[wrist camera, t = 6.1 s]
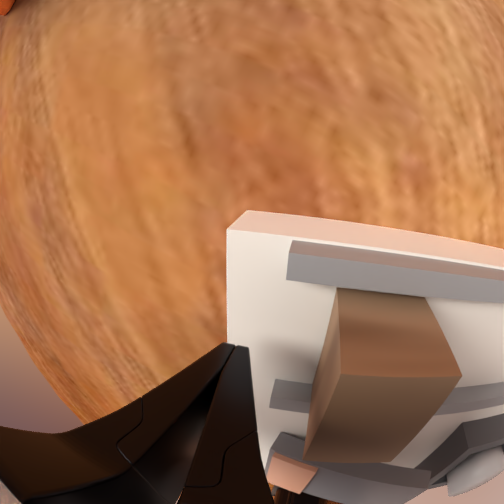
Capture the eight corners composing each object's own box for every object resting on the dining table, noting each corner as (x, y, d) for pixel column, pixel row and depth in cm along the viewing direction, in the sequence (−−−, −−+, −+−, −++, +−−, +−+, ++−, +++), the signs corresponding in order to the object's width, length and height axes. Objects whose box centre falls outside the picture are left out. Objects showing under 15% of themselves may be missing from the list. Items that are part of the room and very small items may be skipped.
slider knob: (383, 388, 9) (390, 461, 6) (312, 383, 10) (302, 459, 6) (424, 297, 7) (462, 375, 4) (336, 286, 8) (340, 373, 5)
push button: (476, 466, 9) (480, 487, 7) (434, 476, 10) (436, 500, 8) (511, 435, 7) (517, 458, 5) (469, 448, 8) (475, 475, 6)
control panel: (478, 436, 13) (486, 473, 9) (240, 436, 17) (224, 484, 13) (581, 269, 6) (616, 302, 2) (247, 209, 11) (200, 253, 6)
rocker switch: (392, 497, 10) (386, 515, 9) (271, 463, 14) (260, 480, 13) (431, 470, 8) (426, 493, 7) (280, 431, 12) (267, 452, 11)
